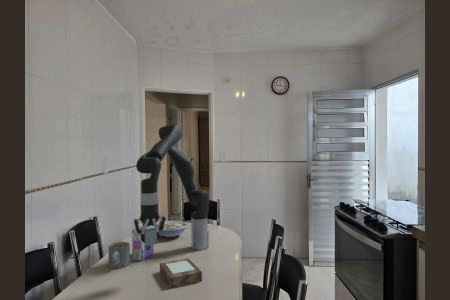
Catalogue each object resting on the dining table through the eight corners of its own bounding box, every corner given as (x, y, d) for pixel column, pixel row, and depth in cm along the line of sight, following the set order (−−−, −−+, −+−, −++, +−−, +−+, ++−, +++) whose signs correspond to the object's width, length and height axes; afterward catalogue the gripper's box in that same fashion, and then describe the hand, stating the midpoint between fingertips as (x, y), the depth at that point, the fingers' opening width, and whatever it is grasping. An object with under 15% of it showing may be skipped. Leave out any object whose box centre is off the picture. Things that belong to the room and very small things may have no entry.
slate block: (154, 240, 138) (154, 227, 138) (157, 243, 134) (156, 230, 134) (143, 242, 136) (143, 228, 136) (145, 245, 132) (145, 231, 132)
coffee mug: (115, 260, 158) (115, 241, 158) (133, 261, 156) (133, 242, 156) (100, 271, 144) (100, 249, 144) (120, 272, 143) (120, 250, 143)
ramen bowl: (184, 242, 188) (184, 228, 188) (147, 242, 188) (147, 228, 188) (190, 230, 213) (189, 219, 213) (157, 230, 213) (157, 219, 213)
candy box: (142, 261, 156) (142, 229, 156) (131, 260, 157) (131, 228, 157) (154, 252, 170) (153, 222, 170) (144, 251, 171) (144, 222, 171)
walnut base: (188, 266, 149) (188, 257, 149) (201, 281, 133) (201, 271, 133) (159, 271, 143) (159, 262, 143) (170, 287, 127) (170, 277, 127)
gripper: (163, 199, 141) (164, 236, 142) (131, 202, 135) (131, 241, 135) (167, 202, 134) (168, 241, 135) (134, 205, 128) (134, 246, 129)
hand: (150, 240), depth 135 cm, fingers closed on slate block, 5 cm apart
